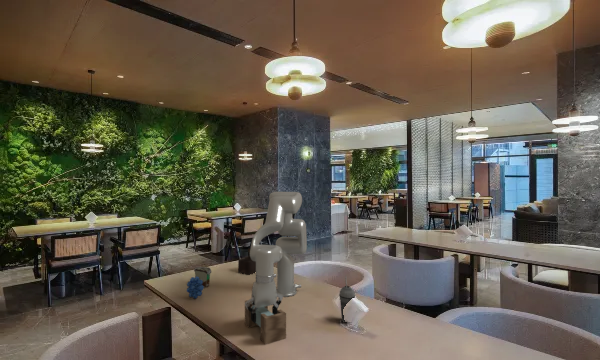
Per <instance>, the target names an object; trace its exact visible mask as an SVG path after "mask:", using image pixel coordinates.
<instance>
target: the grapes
mask: <svg viewBox="0 0 600 360" xmlns="http://www.w3.org/2000/svg"><path fill="white" fill-rule="evenodd" d="M202 283H203V281H202V280H199V277H195V276H193V277H190V279H189V281H187V283H186V286H187V288H186V292H187V293H188V296H189V297H190V298H193V299H194V300H196V299H197V298H198V297H200V296H202V294H203V290H204V289H205V287H204V286H203V285H202Z"/></svg>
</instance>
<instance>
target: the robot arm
mask: <svg viewBox="0 0 600 360" xmlns="http://www.w3.org/2000/svg"><path fill="white" fill-rule="evenodd" d="M268 200H269V202H268V207H267V212H266V217H265V218H266V219H265V222H264V224H263V225H262V226H260V227H259V229H258V230H257V231H256V232H255V233H254V235H253V237H252V239H251V244H250V248H249V249H250V252H249V255H250V257H251V259H252V260H253V261H256V273H255V281H254V282H253V284H252V289H251V297H250V299H247V300H248V301H247V302H245V301H244V307H245V306H246V307H247V309H248V310H249V311H250V312H251V320H252V322H254V323H256V313H255V312H256V310H257V309H258V308H261V307H266V306H268V307H269V306H272V308H271V313H273V314H274V315H275V314H277V310H279V309H278V308H280V305H281V304H282V300H283V298H284V297H285V298H287V297H292V296H296V294H297V293H298V292H297V289H300V288H302V284H301V283H299V284H297V283H295V261H294V258H293V256H292V255H298V256H299V255H305V254H306V252H307V249H308V248H307V247H308V246H307V245H308V242H307V241H308V240H307V239H308V238H307V226H306V225H307V224H306V222H305V220H304V219H302V218H293V215H294V214H297V213H298V212H299V210H300V208H301V206H302V203H303V196H302V194H301V192H298V191H273V192H271V193H270V194H269V197H268ZM276 232H278V234H279V235H280V236H281V237H279V238H277V239H276V241H275V245H273V244H260V243H261V242H262V240H263V239H265V237H267V236H268V235H271V234H274V233H276ZM274 264H277V266H276V267H277V269H276V273H275V272H274V271H275V267H274V266H275V265H274ZM275 278H277V279H276V280H277V281H275ZM276 282H277V283H276ZM251 303H252V307H250V304H251Z"/></svg>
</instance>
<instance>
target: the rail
mask: <svg viewBox="0 0 600 360" xmlns="http://www.w3.org/2000/svg"><path fill="white" fill-rule="evenodd" d="M255 313H256V324H257V326H259V328H261V314H266V315H267V316H270V315H274V314H273V313H272V311H270V310H269V309H268V310H267V309H266V308H265V307H261V308H258V309H257V310H256V312H255Z"/></svg>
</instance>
